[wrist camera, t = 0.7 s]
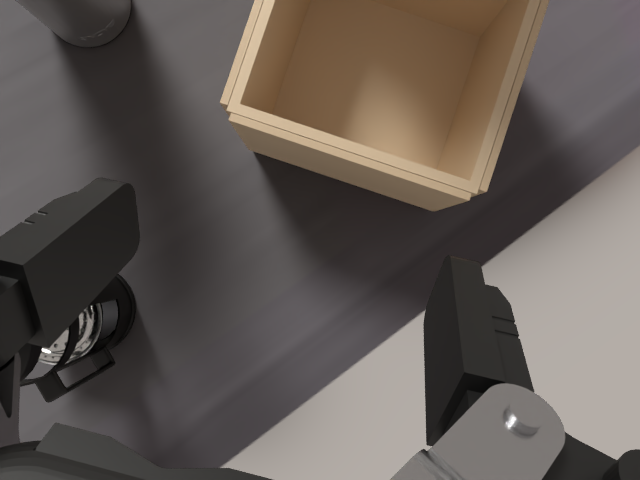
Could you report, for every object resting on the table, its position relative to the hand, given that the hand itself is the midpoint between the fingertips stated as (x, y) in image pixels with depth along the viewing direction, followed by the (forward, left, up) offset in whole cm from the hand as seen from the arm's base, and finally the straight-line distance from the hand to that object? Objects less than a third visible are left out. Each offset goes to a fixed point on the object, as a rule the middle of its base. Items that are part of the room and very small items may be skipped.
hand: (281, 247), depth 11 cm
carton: (-12, +14, -36) cm, 40 cm away
